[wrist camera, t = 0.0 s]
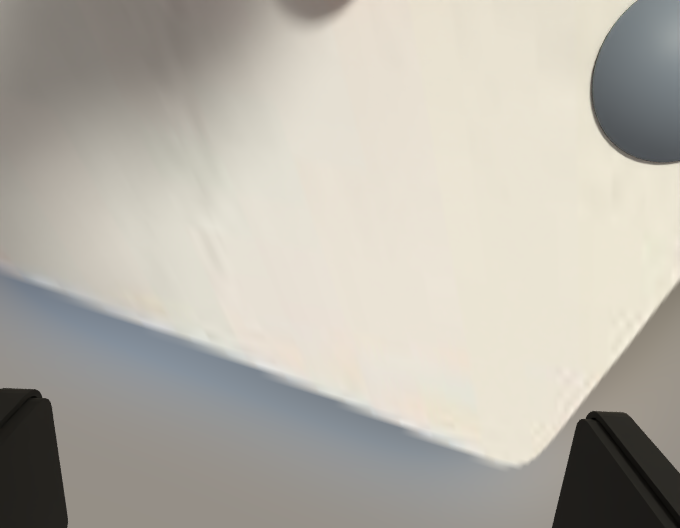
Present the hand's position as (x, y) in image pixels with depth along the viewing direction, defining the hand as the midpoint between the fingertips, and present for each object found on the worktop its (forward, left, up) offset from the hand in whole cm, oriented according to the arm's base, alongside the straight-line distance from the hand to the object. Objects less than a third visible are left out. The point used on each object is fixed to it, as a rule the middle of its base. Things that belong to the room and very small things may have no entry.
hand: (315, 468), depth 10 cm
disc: (-8, +24, -31) cm, 40 cm away
